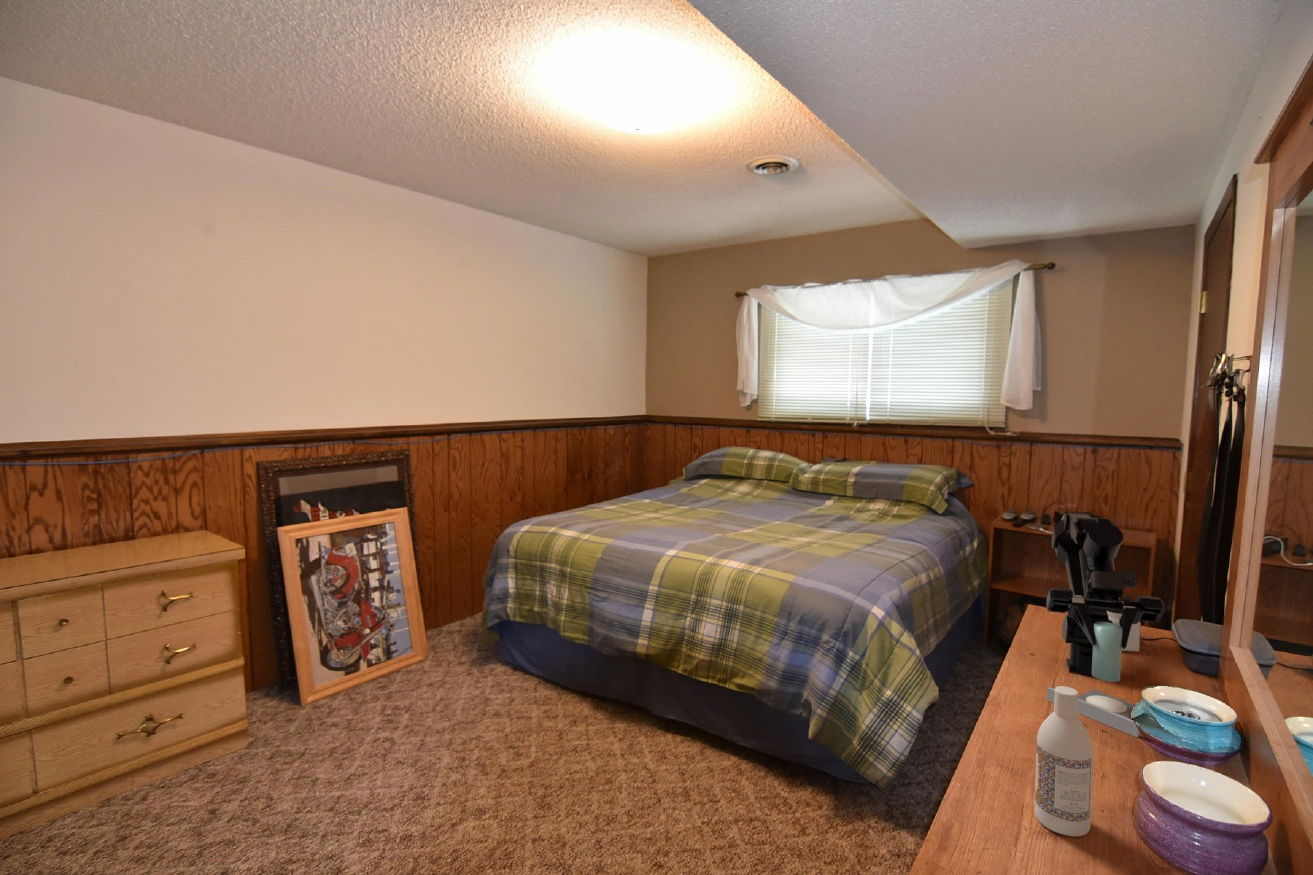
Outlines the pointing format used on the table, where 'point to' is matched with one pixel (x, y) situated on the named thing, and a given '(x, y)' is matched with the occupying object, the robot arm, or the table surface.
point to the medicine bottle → (1134, 633)
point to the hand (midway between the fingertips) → (1109, 646)
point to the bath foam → (1064, 768)
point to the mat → (1108, 703)
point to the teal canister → (1107, 651)
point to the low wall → (1102, 715)
